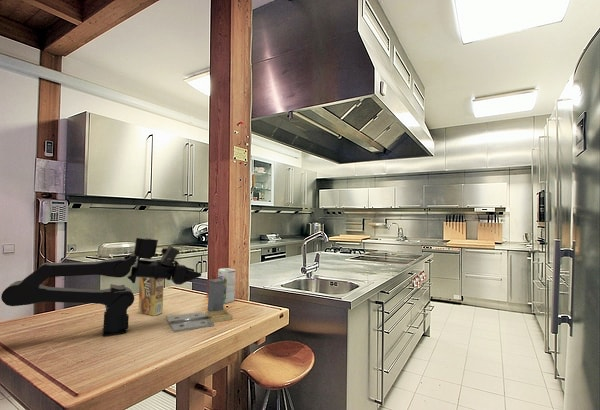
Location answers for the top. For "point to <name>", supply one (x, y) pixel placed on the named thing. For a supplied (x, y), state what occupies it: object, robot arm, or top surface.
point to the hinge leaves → (197, 320)
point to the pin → (216, 295)
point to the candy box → (151, 296)
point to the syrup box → (228, 283)
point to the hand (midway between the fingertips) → (197, 272)
